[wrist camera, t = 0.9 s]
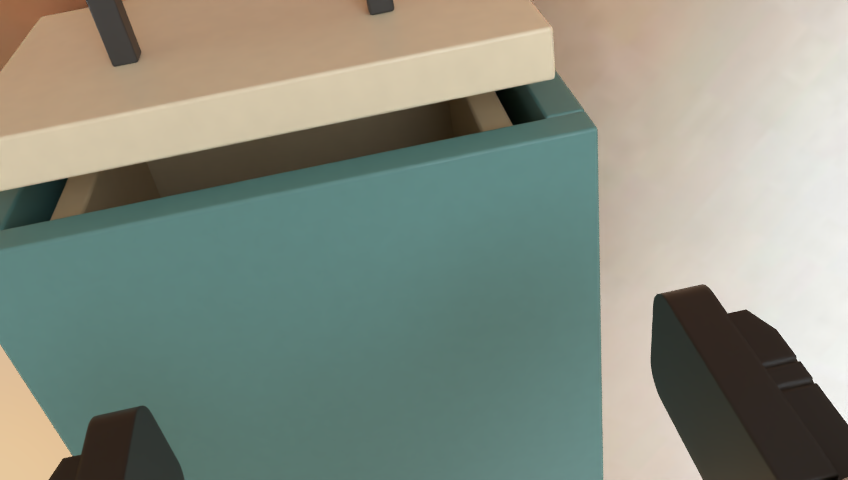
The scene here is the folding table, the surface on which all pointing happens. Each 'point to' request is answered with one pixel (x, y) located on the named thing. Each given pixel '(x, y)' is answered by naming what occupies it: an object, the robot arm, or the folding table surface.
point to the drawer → (251, 89)
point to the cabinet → (335, 310)
